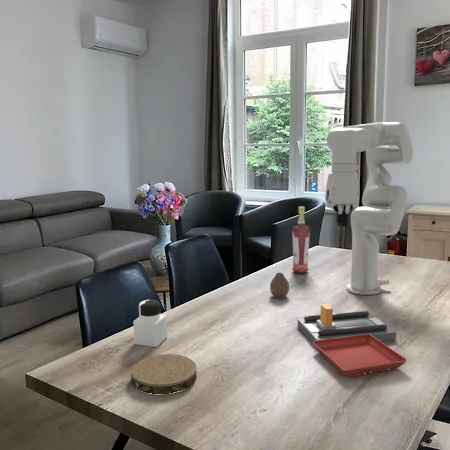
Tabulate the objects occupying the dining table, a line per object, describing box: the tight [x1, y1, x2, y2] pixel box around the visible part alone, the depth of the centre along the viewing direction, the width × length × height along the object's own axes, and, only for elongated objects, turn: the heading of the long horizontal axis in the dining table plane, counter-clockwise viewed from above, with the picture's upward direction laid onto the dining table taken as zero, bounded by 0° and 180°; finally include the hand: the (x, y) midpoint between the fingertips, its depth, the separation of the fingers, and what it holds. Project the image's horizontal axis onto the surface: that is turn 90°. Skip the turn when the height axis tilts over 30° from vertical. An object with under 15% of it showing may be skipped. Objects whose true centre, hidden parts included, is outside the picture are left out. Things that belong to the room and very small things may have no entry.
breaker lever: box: [317, 303, 336, 330], centre depth 148 cm, size 4×5×6 cm
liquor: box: [291, 206, 311, 275], centre depth 211 cm, size 7×7×28 cm
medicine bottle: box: [132, 299, 168, 348], centre depth 145 cm, size 7×7×12 cm
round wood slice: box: [130, 353, 198, 394], centre depth 124 cm, size 16×16×3 cm
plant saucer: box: [311, 334, 408, 377], centre depth 132 cm, size 18×18×3 cm
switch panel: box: [297, 310, 397, 343], centre depth 150 cm, size 24×16×4 cm, turn 101°
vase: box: [269, 272, 290, 299], centre depth 182 cm, size 7×7×9 cm
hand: (341, 225), depth 163 cm, fingers closed
